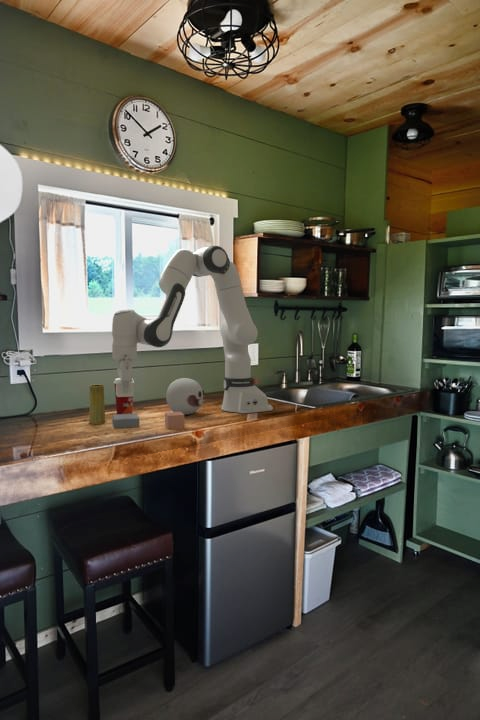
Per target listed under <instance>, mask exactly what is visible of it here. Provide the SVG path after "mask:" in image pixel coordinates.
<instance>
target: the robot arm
mask: <svg viewBox="0 0 480 720" xmlns="http://www.w3.org/2000/svg"><path fill="white" fill-rule="evenodd" d="M206 276H207V277H208V276H210V277H211V278H212V279H213V281H214V286H215V290H216V291H215V292H216V297H217V301H218V305H219V310H220V311H221V312H222V315H223V317H224V319H225V322H224V323H223V324H222V325H221V327H220V336H221V339H222V345H223V353H224V359H225V360H224V365H225V366H224V376H223V390H224V393H223V398H222V399H223V400H222V405H221V407H220V409H221V410H222V411H225V412H228V413H229V412H230V413H238V414H250V413H251V414H252V413H260V412H270V411H273V410H274V407H273V406H272V405H271V404H269V401H268V396H267V395H266V394H265V392H264V391H262V390H261V389H260V388H259V387H257V386H256V385H257V384H258V382H259V380H258V378H253V377H252V375H251V372H252V371H251V370H252V359H251V356H250V353H249V348H248V346H249V345H252V344H254V343H255V342H256V341H257V338H258V334H259V332H258V328H257V327H256V325H255V324H254V322H253V319H252V316H251V313H250V311H249V309H248V306H247V303H246V299H245V295H244V289H243V286H242V280H241V277H240V274H239V272H238V268H237V265H236V264H235V263H234V262H233V261H230V258H229V256H228V254H227V251H226V250H225V249H224V248H223V247H222V246H220V245H210V246H207V247H201V248H199V249H197V250H196V251H191V250H188V249H186V248H180V249H178V250H176V251H175V252H174V254H173V255H172V256H171V257H170V259H169V260H168V262H167V263H166V264H165V266H164V268H163V269H162V271H161V274H160V276H159V278H158V286H159V288H160V290H161V291H162V293H164V294H165V300H164V303H163V305H162V308H161V310H160V311H159V314H158V315H157V316H156V317H154V318H152V319H151V318H150V319H149V318H147V317H144V316H142V315H140V314H138V312H136V311H135V310H134V309H124V310H118V311H116V312H115V313H114V314H113V317H112V324H111V325H112V327H111V334H112V335H111V336H112V339H113V341H112V345H111V346H112V347H111V349H112V351H111V352H112V354H111V355H112V356H111V357H112V359H113V360H115V364H116V370H117V375H118V378H120V379H121V381H122V382H123V392H124V393H128V388H129V382H132V378H133V364H134V360H137V359H138V351H137V350H138V344H140V345H147V346H151V347H155V348H163V347H165V346H166V345H168V344H169V343H170V341H171V339H172V336H173V330H174V329H173V328H174V325H175V323H176V322H175V321H176V320H177V318H178V315H179V312H180V311H181V308H182V304H183V302H184V300H185V296H186V290H187V287H188V285H189V283H190V281H191V279H193V277H198V278H200V277H206ZM255 384H256V385H255Z"/></svg>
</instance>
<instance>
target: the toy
mask: <svg viewBox="0 0 480 720" xmlns="http://www.w3.org/2000/svg"><path fill="white" fill-rule="evenodd" d="M165 394H166V395H165V400H166V404H167V406H168V408H169V409H170V410H171V412H182V413H183V414H184V416H188V415H192V414H194V413H195V412H197V411H199V409H200V408H201V406H202V405H203V403H204V395H205V391H204V389H203V388H202V386H201V385H200V383H199V382H197V381H196V379H192V378H187V377H181V378H177V379H175V380H174V381H172V382H171V383H170V384H169V386H168V387H167V389H166V393H165Z"/></svg>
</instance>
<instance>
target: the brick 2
mask: <svg viewBox="0 0 480 720" xmlns="http://www.w3.org/2000/svg"><path fill="white" fill-rule="evenodd" d="M164 425H165V427H166V429H167V430H172V429H174V428H177V429H185V415H184V414H183V413H182V412H173V411H170V412H169V411H168V412H167V411H166V412H164Z"/></svg>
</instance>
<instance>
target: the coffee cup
mask: <svg viewBox="0 0 480 720" xmlns="http://www.w3.org/2000/svg"><path fill="white" fill-rule="evenodd" d="M116 381H121V379H120V377H118V378H115V379H114V381H113V384H114V393H115V394H114V395H115V409H116V415H117V414H133V409H134V408H133V406H134V396H132V397H117V396H116ZM132 381H133V383H134V384H135V381H134V378H133V377H132Z"/></svg>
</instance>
